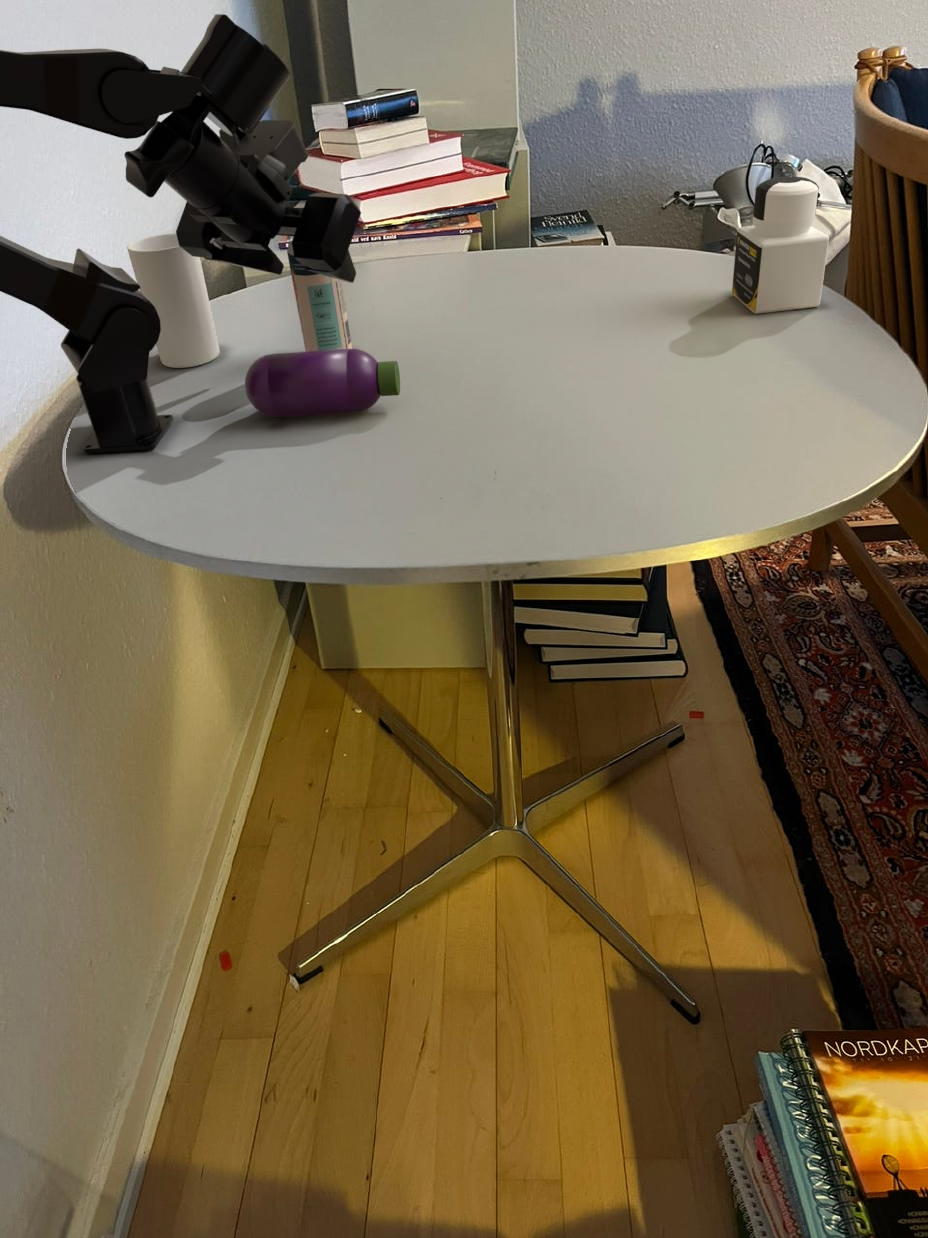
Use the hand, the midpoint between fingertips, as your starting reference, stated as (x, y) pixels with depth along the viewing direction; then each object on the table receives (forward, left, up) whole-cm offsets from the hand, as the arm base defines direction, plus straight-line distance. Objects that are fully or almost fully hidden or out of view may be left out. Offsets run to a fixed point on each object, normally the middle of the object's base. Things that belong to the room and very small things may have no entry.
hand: (316, 273), depth 93 cm
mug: (+4, +16, -9) cm, 19 cm away
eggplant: (-14, -1, -8) cm, 16 cm away
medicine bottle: (+8, -47, -9) cm, 49 cm away
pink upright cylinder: (0, 0, -9) cm, 9 cm away
